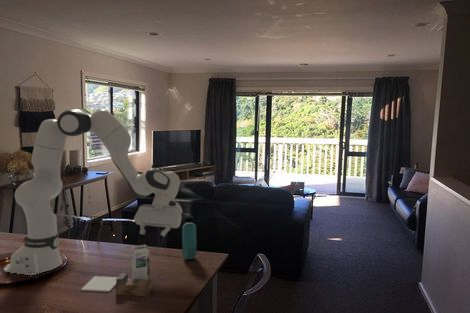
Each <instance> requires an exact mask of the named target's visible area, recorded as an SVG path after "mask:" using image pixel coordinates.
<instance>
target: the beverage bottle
mask: <svg viewBox="0 0 470 313" xmlns="http://www.w3.org/2000/svg"><path fill="white" fill-rule="evenodd" d="M183 220H184V224H183V225H182V227H181V229H182V231H181V232H182V234H181V235H182V240H181V241H182V246H181V247H182V254H181V255H182V257H183V258H184V259H189V260H191V259H195V258H197V243H198V242H197V225H196V224H195V223H193V222H194V220H195V218H194V216H192V215H186V216H184V219H183Z"/></svg>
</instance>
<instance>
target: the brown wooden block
mask: <svg viewBox="0 0 470 313" xmlns="http://www.w3.org/2000/svg"><path fill="white" fill-rule="evenodd" d="M117 277H118V278H117V279H116V284H115V285H116V286H115V295H117V296H120V295H121V296H135V297H149V295H150V294H151V292H152V290H153V279H150V280H149V279H132V278H129V275H128V273H125V272H122V273H120V274H119V275H118V276H117Z"/></svg>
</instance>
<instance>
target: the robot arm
mask: <svg viewBox="0 0 470 313" xmlns="http://www.w3.org/2000/svg"><path fill="white" fill-rule="evenodd" d="M88 132H89V133H92V134H94V135H95V136H96V137H97V138H98V139H99V140H100V142H101V143H102V144H103V145H104V147H105V148H106V150H107V151H108V153H109V157H110V158H111V161H112V162H113V164H114V165H115V167H116V168H117V170H118V171H119V172H120V175H121V176H122V177H123V178H124V180H125V181H126V182H127V185H128V188H129V190H130V192H131V193H132V195H133V196H135V197H136V198H140V199H144V198H147V197H148V196H150V195H151V194H154V197H153V200H152V204H147V203H144V204H141V205H140V206H139V207H138V209H137V211H136V213H135V215H134V217H133V221H134V223H135V224H136V225H139V226H140V227H139V228H140V230H139V234H140V235H145V234H146V230H145V227H146V226H151V227H162V228H164V230H161V231H160V236H161V237H166V235H167V233H168V232H169V231H171V229H178V228H180V226H181V222H182V218H183V217H182V216H183V215H182V213H183V209H182V206H181V204H180V203H179V202H176V201H175V198H176V197H177V195H178V193H179V189H180V184H181V182H180V181H181V179H180V177H179V175H178V174H177V173H175V171H171V170H167V171H164V170H163V171H162V170H160V169H159V168H157V167H156V168H155V167H152V168H150V169H147V170H145V171H144V172H142V173H141V174H140V173H139V172H138V170H136V168H135V166H134V165H133V163H132V162H131V161H130V159H129V149H130V147H131V145H132V144H131V143H132V137H131V134H130V132H129V131H128V130H127V129H126V128H125V126H124V125H123V124H122V122H121V121H119V119H117V117H115V115H114V114H112V113H111V112H109V110H107V109H102V108H101V109H97V110H95V111H94V112H93V113H91V112H90V111H88V110H87V109H86V108H79V107H73V108H70V109H65V110H64V111H63V112H61V113H60V114H59V116H58V117H57V119H54V118H48V119H44V120H43V121H42V122H41V124H40V125H39V128H38V130H37V133H36V137H35V140H34V145H33V150H32V154H31V159H30V162H31V164H32V165H33V172H34V173H33V176H32V177H33V178H32V179H29V180H26V181H24V182H23V183H21V184H20V185H19V186H18V187H17V188H16V190H15V192H14V200H15V203H17V204H18V206H20V207H21V208H22V210H23V212H24V216H25V218H26V219H25V220H26V225H27V226H26V228H27V236H25V237H24V238H22V239H21V243H23V242H24V243H23V245H21V247H20V248H18V249H16V251H15V252H13V253H12V254H11V256H10V258H9V259H10V260H9V263H8V264H6V266H5V267H4V268H3V272H4V271H5V272H4V273H7V272H10V273H9V274H13V273H17V274H16V275H19V274H25V275H30V276H29V277H32V276H31V275H35V276H37V275H36V274H38V275H40V274H39V273H42V272H45V271H49V270H52V269H54V268H56V267H58V266H60V265H61V264H62V262H63V261H62V260H63V259H62V257H61V255H60V249H59V246H60V245H59V244H60V243H59V242H60V241H59V240H60V238H59V232H58V225H57V215H56V214H55V213H54V211H53V210H52V207H51V200H54V199H55V198H57V196H59V194H60V193H61V192H62V190H63V185H64V184H63V181H62V180H61V166H62V161H63V160H62V159H63V155H64V151H65V150H64V149H65V147H66V146H65V145H66V141H67V139H68V137H78V136H81V135H83V134H86V133H88ZM42 274H43V273H42ZM25 275H24V276H25Z"/></svg>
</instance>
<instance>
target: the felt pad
mask: <svg viewBox="0 0 470 313" xmlns="http://www.w3.org/2000/svg"><path fill="white" fill-rule="evenodd" d="M117 278H118V276H117V277H116V276H100V275H98V276H97V275H95V276H93V277H92V278H91V279H90V280H89V281H88V282H87V283H86V284H85V285H83V287H82V288H81V289H80V291H81V292H82V291H83V292H98V293H111V291H112V290H113V289H114V288H116V285H115V284H116V279H117Z"/></svg>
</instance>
